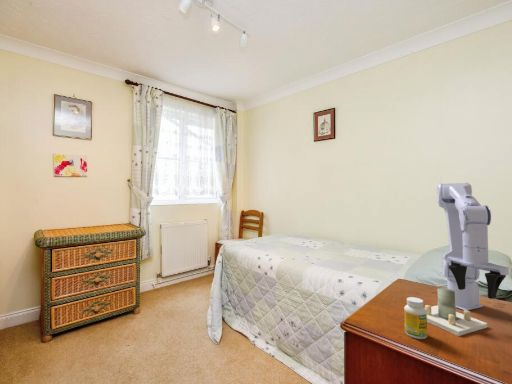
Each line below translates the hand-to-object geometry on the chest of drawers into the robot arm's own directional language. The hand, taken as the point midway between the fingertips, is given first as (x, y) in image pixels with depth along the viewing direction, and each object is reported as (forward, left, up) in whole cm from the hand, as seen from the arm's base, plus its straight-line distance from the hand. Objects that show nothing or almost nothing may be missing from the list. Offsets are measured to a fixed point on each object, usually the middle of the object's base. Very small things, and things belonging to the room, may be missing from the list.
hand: (476, 293), depth 76 cm
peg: (+4, -6, -9) cm, 11 cm away
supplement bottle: (+20, -4, -10) cm, 23 cm away
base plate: (+4, -6, -10) cm, 12 cm away
